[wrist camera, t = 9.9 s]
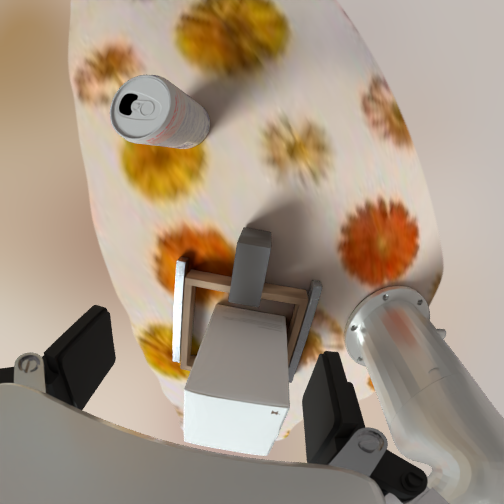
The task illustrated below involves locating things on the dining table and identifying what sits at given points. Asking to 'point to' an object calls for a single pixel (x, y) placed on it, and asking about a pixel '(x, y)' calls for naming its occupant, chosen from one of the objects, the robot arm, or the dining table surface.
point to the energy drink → (158, 114)
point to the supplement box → (238, 382)
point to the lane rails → (178, 316)
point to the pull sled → (242, 289)
